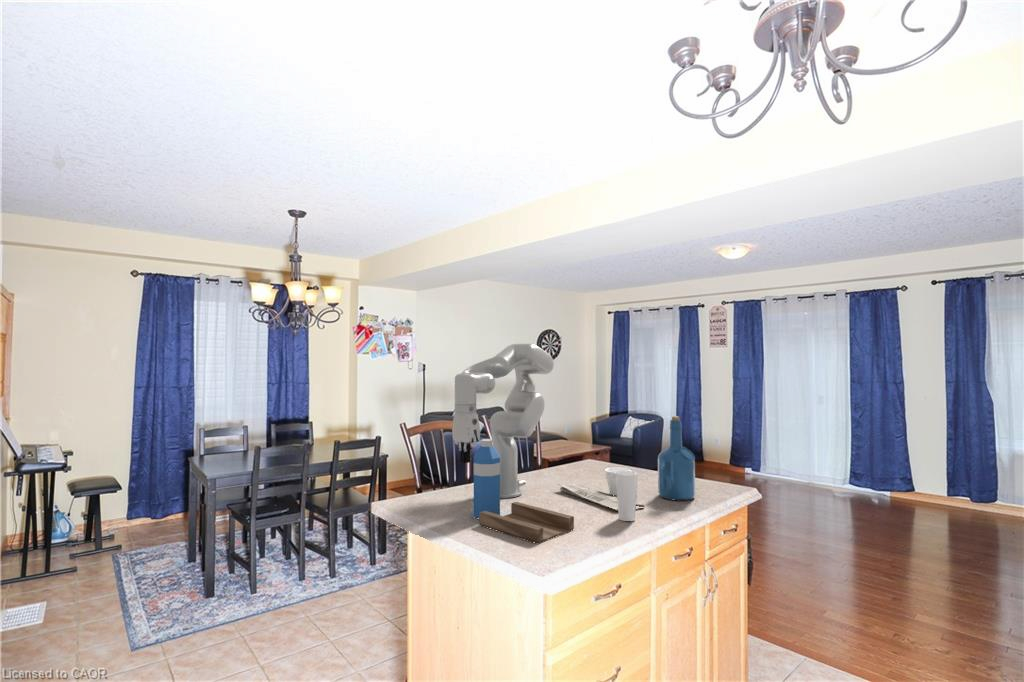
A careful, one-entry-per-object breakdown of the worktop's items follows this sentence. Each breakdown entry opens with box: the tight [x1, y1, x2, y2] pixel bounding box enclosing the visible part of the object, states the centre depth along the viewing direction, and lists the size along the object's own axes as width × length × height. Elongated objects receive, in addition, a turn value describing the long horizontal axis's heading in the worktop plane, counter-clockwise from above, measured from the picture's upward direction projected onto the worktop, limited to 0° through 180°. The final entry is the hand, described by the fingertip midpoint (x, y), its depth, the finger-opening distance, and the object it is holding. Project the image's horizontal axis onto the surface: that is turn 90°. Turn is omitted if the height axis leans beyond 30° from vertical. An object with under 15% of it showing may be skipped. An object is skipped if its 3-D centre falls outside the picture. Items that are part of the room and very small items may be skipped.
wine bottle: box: [657, 415, 696, 501], centre depth 196 cm, size 14×13×30 cm
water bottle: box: [473, 438, 501, 519], centre depth 173 cm, size 9×9×25 cm
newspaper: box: [557, 483, 645, 511], centre depth 192 cm, size 35×12×4 cm, turn 33°
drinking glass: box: [616, 470, 638, 522], centre depth 168 cm, size 7×7×15 cm
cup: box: [604, 467, 632, 497], centre depth 200 cm, size 10×10×9 cm
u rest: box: [478, 501, 575, 544], centre depth 161 cm, size 17×24×4 cm
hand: (465, 462), depth 181 cm, fingers closed
